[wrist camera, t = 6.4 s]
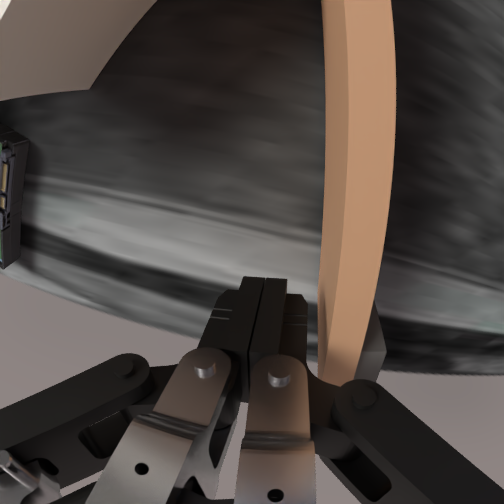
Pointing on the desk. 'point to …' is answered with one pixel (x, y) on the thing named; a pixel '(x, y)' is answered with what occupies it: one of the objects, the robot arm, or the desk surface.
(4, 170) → the disk drive
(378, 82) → the door
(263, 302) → the robot arm
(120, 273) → the desk surface
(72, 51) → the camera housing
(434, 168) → the desk surface
